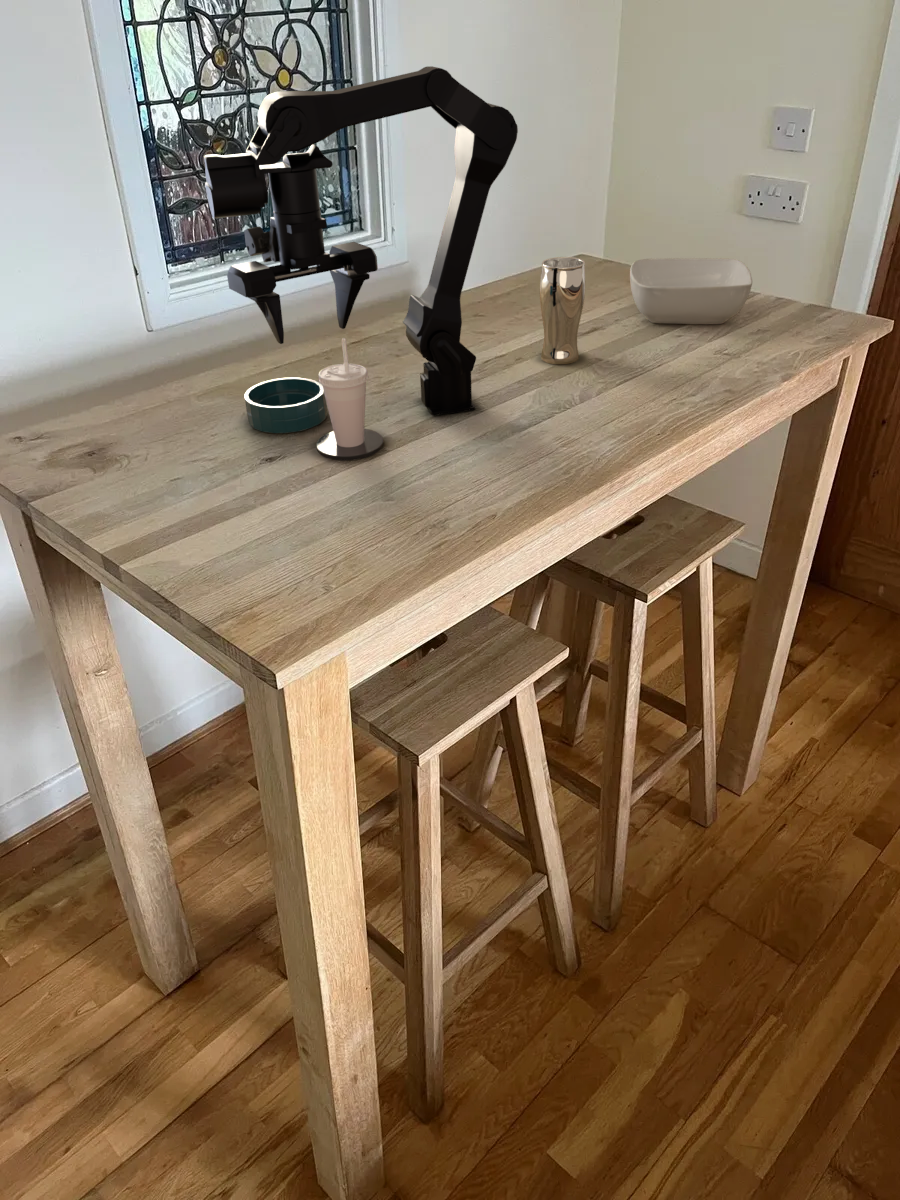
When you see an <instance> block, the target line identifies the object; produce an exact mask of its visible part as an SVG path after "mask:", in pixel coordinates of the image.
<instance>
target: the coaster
mask: <svg viewBox="0 0 900 1200" xmlns="http://www.w3.org/2000/svg"><path fill="white" fill-rule="evenodd" d="M384 444H385V443H384V437H383V436H382V434H380V433H379V432H378V431H375V430H372V429H368V428H364V442H363V443H362V444H361V445H358V446H355V447H341V446H339V445H337V443H336V439H335V435H334V431H333V430H332V431H330V432H327V433H325V434H323V435H322V436H321V437H319V438H318V439H317V441H316V443H315V446H316V451H317V453H318V454H319V455H321V456H322V457H324V458H326V459H330V460H335V461H356V460H361V459H366V458H368V457H371V456H373V455H376V454H377V453H379V452H380V451H382V449H383V447H384Z"/></svg>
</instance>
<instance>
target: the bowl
mask: <svg viewBox="0 0 900 1200" xmlns="http://www.w3.org/2000/svg"><path fill="white" fill-rule="evenodd" d="M629 282H630V290H631V296H632V298H633V301H634V304H635V306H636V308H637V310H638V311H639V313H640V314H641V315H642V316H643V317H645V319H646V320H648V321H649V322H650V323H653V324H670V325H671V324H673V325H674V324H675V325H677V324H679V325H722V324H725V323H726V322H727V321H728V320H730V319H732V318H733V317H734V316H736V315H737V314H738V313H739V312H740V311H741V309H743V308H744V305H746V302H747V300H748V298H749V295H750V294H751V289H752V286H753V277H752V273H751V271H750V268H749V267H748V266H747V265H746V264H745V262H743V261H741V260H740V259H736V258H722V257H720V258H718V257H656V258H655V257H654V258H652V257H651V258H641V259H637V260H634V261H633V262H632V263H631V265H630V269H629Z"/></svg>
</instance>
